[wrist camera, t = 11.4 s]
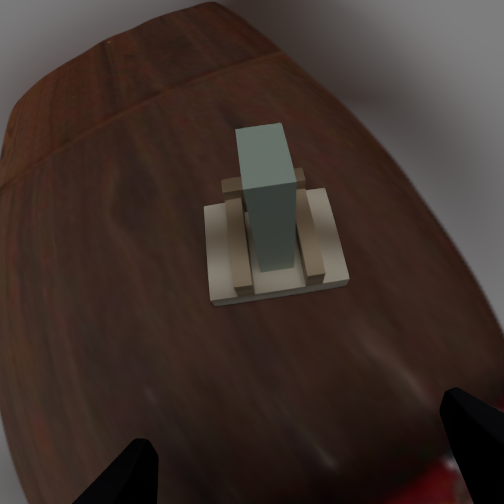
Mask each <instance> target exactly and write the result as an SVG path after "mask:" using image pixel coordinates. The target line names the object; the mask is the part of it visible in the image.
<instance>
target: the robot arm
mask: <svg viewBox="0 0 504 504" xmlns="http://www.w3.org/2000/svg"><path fill="white" fill-rule="evenodd" d="M440 416H441V419H442V422H443V425H444V428H445V431H446V434H447V437H448V440H449V444H450V447H451V450H452V452H453V455H454V457H455V460H456V462H457V464H458V466H459V469H460V471H461V473H462V476H463V478H464V481H465V483H466V485H467V488H468V490H469V493H470V495H471V498H472V500H473V503H474V504H504V413H503V412H501V411H500V410H498V409H496V408H494V407H492V406H491V405H489V404H487V403H485V402H483V401H482V400H480V399H478V398H476V397H474V396H473V395H471V394H469V393H467V392H465V391H464V390H462V389H460V388H458V387H455V388H452V389H449V390H447V391H446V392H445V393H444V396H443V399H442V402H441V405H440ZM158 463H159V458H158V454H157V452H156V451H155V449H154V447H153V446H152V444H151V443H150V441H149V440H148V439H142V438H136V439H134V440H133V441H132V442H131V443H130V444H129V445H128V446H127V447H126V448H125V449H124V450H123V451H122V453H121V454H120V455H119V456H118V457H117V458H116V459H115V460H114V461H113V462H112V463H111V464H110V465H109V466H108V467H107V468H106V469H105V470H104V471H103V472H102V473H101V475H100V476H99V477H98V478H97V479H96V480H95V481H94V482H93V483H92V484H91V485H90V486H89V487H88V488H87V489H86V490H85V491H84V492H83V493H82V494H81V495H80V496H79V497H78V498H77V499H76V500H75V501H74V502H73V503H72V504H157V492H158Z"/></svg>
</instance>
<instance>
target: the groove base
mask: <svg viewBox="0 0 504 504" xmlns="http://www.w3.org/2000/svg"><path fill="white" fill-rule="evenodd" d="M294 173H295V177H296V181H297V189H296V228H295V256H294V268H289V269H282V270H275V271H269V272H262V273H261V271H260V267H259V262H258V257H257V253H256V248H255V243H254V239H253V234H252V229H251V225H250V220H249V215H248V211H247V206H246V202H245V197H244V192H243V186H242V178H241V177H236V178H230V179H224V180H221V182H222V193H223V196H224V199H225V203H221V204H216V205H210V206H204V215H205V233H206V249H207V264H208V278H209V291H210V301H211V302H212V303H213V305H214V306H220V305H227V304H235V303H242V302H249V301H256V300H262V299H269V298H275V297H282V296H288V295H294V294H301V293H307V292H313V291H319V290H324V289H330V288H336V287H341V286H346V285H347V283H348V281H349V275H348V271H347V267H346V263H345V259H344V255H343V251H342V247H341V243H340V240H339V236H338V232H337V229H336V225H335V221H334V218H333V214H332V211H331V207H330V204H329V200H328V197H327V194H326V190H325V188H321V189H313V190H305V177H304V173H303V170H302V168H296V169H294Z"/></svg>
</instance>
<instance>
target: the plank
mask: <svg viewBox="0 0 504 504" xmlns="http://www.w3.org/2000/svg"><path fill="white" fill-rule="evenodd" d="M235 130H236V138H237V146H238V154H239V162H240V170H241V178H242V186H243V192H244V197H245V202H246V206H247V211H248V215H249V220H250V225H251V229H252V234H253V239H254V243H255V248H256V253H257V257H258V262H259V267H260V271H261V273H262V272H269V271H275V270H282V269H289V268H294V256H295V228H296V189H297V181H296V177H295V173H294V169H293V165H292V161H291V157H290V154H289V150H288V146H287V142H286V138H285V135H284V131H283V127H282V124H281V123H277V124H269V125H262V126H255V127H248V128H242V129H235Z"/></svg>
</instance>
